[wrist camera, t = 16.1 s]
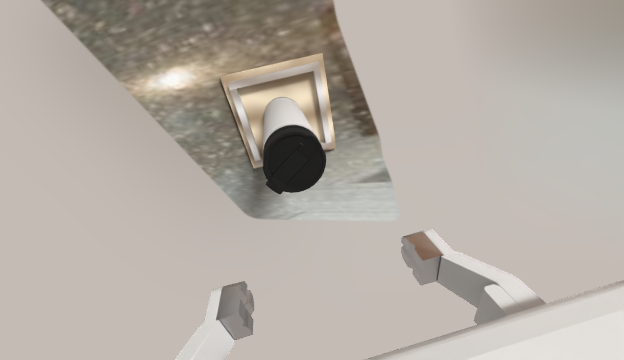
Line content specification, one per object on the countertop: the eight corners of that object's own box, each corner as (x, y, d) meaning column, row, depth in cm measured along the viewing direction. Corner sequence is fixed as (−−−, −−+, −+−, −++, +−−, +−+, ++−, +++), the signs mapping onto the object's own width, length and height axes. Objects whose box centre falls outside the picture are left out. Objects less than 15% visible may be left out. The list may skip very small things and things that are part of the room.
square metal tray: (220, 76, 35) (217, 77, 33) (321, 53, 35) (324, 53, 33) (253, 166, 43) (253, 172, 41) (335, 146, 44) (338, 150, 42)
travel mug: (255, 118, 38) (245, 173, 21) (281, 88, 36) (294, 119, 19) (283, 142, 41) (295, 207, 23) (308, 114, 39) (341, 163, 22)
